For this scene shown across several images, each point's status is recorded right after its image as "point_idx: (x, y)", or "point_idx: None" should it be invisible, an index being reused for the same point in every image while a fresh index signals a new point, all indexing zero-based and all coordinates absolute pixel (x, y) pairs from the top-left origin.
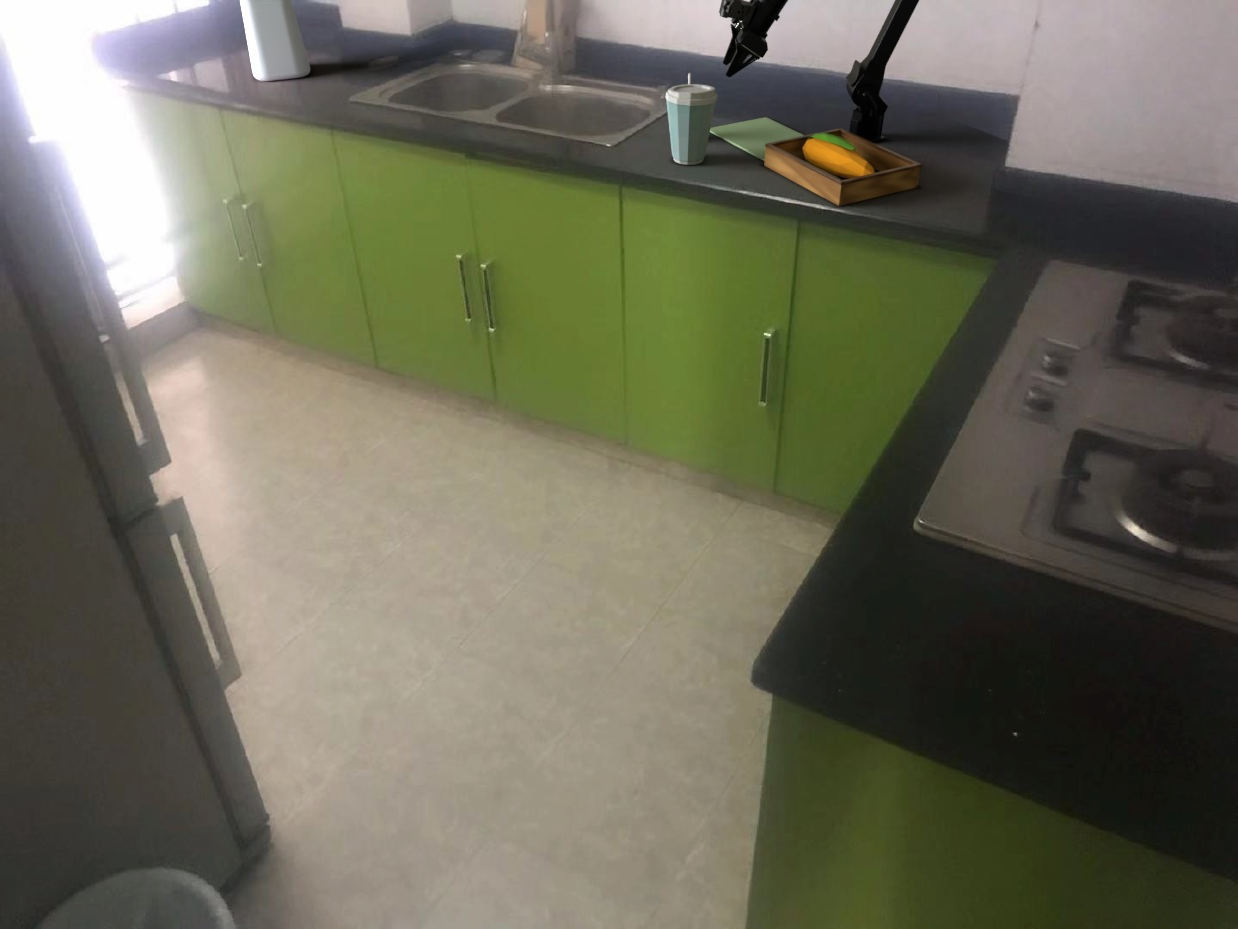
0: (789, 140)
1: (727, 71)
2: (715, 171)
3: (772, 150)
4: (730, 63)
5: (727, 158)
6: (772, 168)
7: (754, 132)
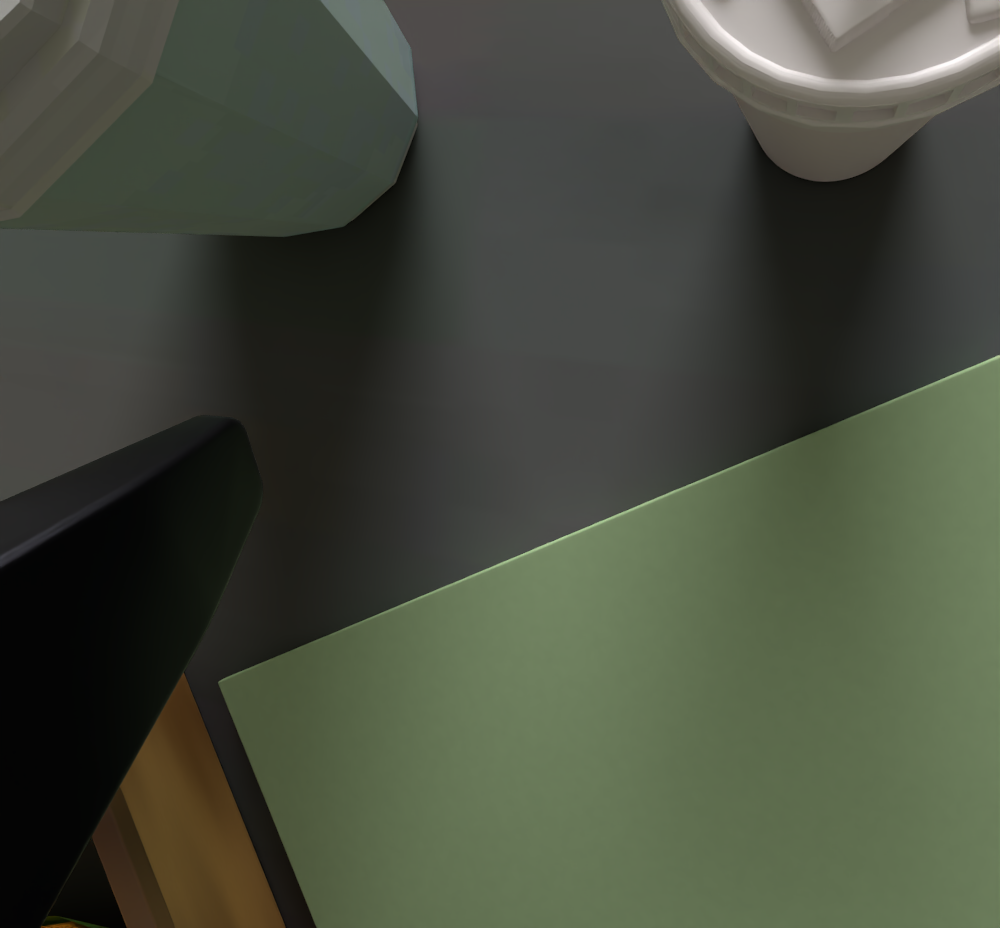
0: (114, 895)
1: (132, 445)
2: (107, 302)
3: None
4: (16, 526)
5: (326, 418)
6: None
7: (871, 759)
